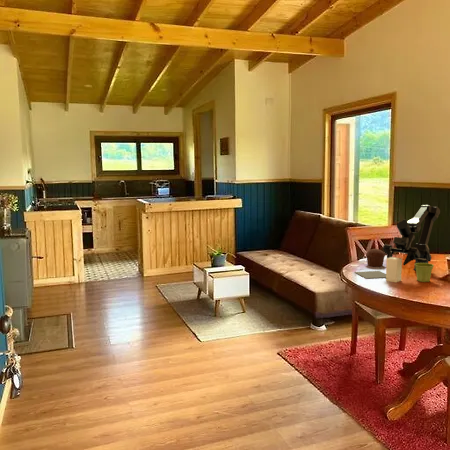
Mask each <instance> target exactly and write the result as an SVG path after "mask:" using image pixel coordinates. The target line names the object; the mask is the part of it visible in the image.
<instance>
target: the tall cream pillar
mask: <svg viewBox="0 0 450 450" xmlns="http://www.w3.org/2000/svg"><path fill="white" fill-rule="evenodd" d="M402 263H403V258H402V257H394V256H392V257H390V258H387V257H386V267H385V268H386V270H385V274H386V278H385V281H386V282H390V283H399V282H402V273H403V272H402V269H403V268H402V267H403V264H402Z"/></svg>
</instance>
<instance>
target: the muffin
mask: <svg viewBox="0 0 450 450" xmlns="http://www.w3.org/2000/svg"><path fill="white" fill-rule="evenodd" d="M365 256H366V262H367V266H368V267H373V268H374V267H375V268H380V267H383V265H384V262H385V261H384V259H385V257H386V253H385V251H384V250H381V249H378V248H373V249H372V248H371V249H370V250H367V252H366V254H365Z"/></svg>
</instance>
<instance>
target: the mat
mask: <svg viewBox="0 0 450 450" xmlns="http://www.w3.org/2000/svg"><path fill="white" fill-rule="evenodd" d="M354 274H356V275H358V276H360V277H362V278H363V277H364V278H363V279H366V280H367V279H368V280H369V279H372V280H373V279H386V272H383V271H381V270H371V271H370V270H369V271H366V270H365V271H354Z"/></svg>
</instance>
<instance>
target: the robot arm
mask: <svg viewBox="0 0 450 450" xmlns="http://www.w3.org/2000/svg"><path fill="white" fill-rule="evenodd" d="M440 214H441V209H440V208H439V207H438V206H432V205H429V204H422V205H420V207H419V209H418V211H417V212H416V214H415V215H414V216H413V217H412V218H411V219H409V220H407V219H402V221H399V222H398V223H397V224H396V229H397V230H398V232H399V234H400V235H401V237H397V236H394V237H393V242H392V243H393V244H395V245H394V247H393V245H392V244H384V245H383V246H382V250H383V252H384V254H385V255H386V259H387V258H390V257H394V253H400V254H405V255H406V254H407V255H406V257H405V259H404V260H403V262H402V263H403V264H402V266H406V265H407V264H409V263H411V262H412V261H415V262H414V264H415V263H429V262H431V261H432V254H431V253H430V248H429V245H428V244H429V241H430V236H431V233H432V229H433V226H434V222H436V220H438V218H439V217H440V216H439V215H440ZM423 221H424V222H423ZM422 223H423V225H422V226H421V224H422ZM421 229H422V230H421ZM420 231H421V234H420V237H419V240H418V243H414V245H413V247H412V245H411V244H412V242H413V241H415V240H416V236H415V233H416V234H418V233H419V232H420ZM413 266H414V268H413V271H416V268H415V265H413Z"/></svg>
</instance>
